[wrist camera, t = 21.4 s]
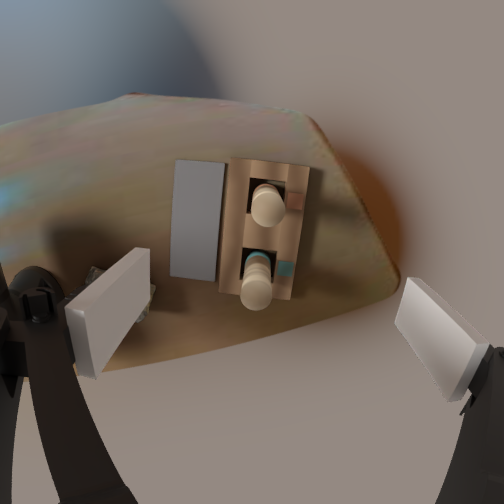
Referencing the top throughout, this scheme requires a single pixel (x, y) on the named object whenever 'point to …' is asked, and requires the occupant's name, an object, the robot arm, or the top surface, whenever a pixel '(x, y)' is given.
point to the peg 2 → (257, 281)
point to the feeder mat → (196, 219)
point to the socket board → (259, 237)
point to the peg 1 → (267, 205)
